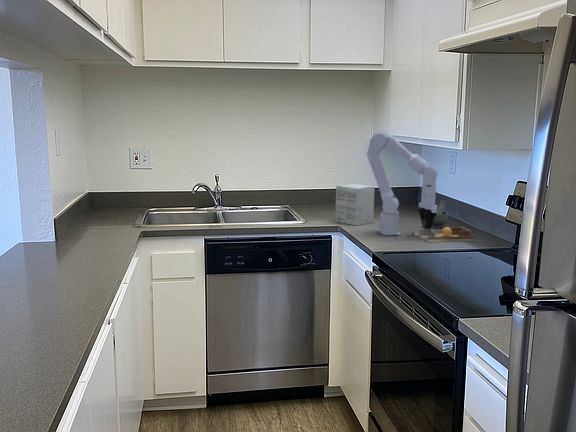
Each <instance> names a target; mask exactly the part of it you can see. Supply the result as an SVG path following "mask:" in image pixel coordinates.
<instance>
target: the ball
mask: <svg viewBox="0 0 576 432" xmlns="http://www.w3.org/2000/svg"><path fill="white" fill-rule="evenodd" d="M441 230H442V234H443V235H444V236H450V235H451V234H452V230H451V227H449V226H446V227H444V228H443V229H441Z"/></svg>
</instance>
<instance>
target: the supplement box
mask: <svg viewBox="0 0 576 432" xmlns="http://www.w3.org/2000/svg"><path fill="white" fill-rule="evenodd" d="M335 188H336V190H335V191H336V192H335V214H334V215H335V217H334V218H335V219H334V222H336V223H339V222H340V223H341V224H345V223H346V224H345V225H350V224H351V225H350V226H355V225H357V226H362V225H366V224H372V223H374V209H375V208H374V206H375V186H374V185H366V184H358V183H348V184H341V185H336V186H335ZM361 224H362V225H361Z"/></svg>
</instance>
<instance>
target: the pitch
mask: <svg viewBox="0 0 576 432" xmlns="http://www.w3.org/2000/svg"><path fill="white" fill-rule="evenodd" d="M450 228H451V230H452V234H451V235H450V236H444V235H443V234H442V230H443V229H432V230H433V231H435V237H431V236H429V231H424V230H422V229H419V230H418V231H412V235H414V236H416V237H418V238H420V239H421V240H424V241H425V242H427V243H451V242H453V243H455V242H457V243H459V242H474V241H475V236H474V235H472V230H470V229H468V228H466V227H463V226H457V227H456V226H454V227H453V226H451V227H450Z"/></svg>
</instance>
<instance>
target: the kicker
mask: <svg viewBox="0 0 576 432" xmlns="http://www.w3.org/2000/svg"><path fill="white" fill-rule="evenodd" d="M420 230H424V231H429V236H431V237H435V231H433V230H434V229H433V228H426V225H425V219H423V226H422V225H421V229H420Z"/></svg>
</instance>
